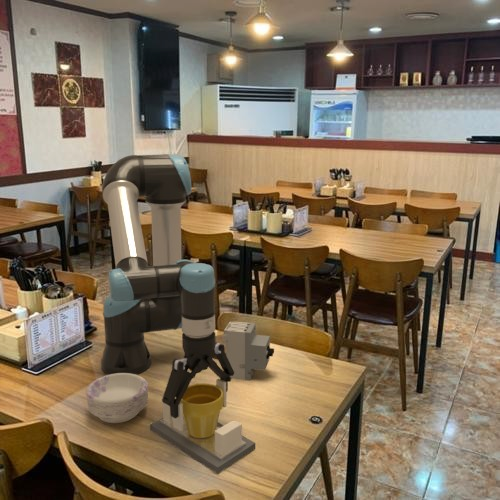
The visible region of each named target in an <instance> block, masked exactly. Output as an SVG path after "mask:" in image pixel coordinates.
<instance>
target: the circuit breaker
mask: <svg viewBox="0 0 500 500" xmlns="http://www.w3.org/2000/svg"><path fill="white" fill-rule="evenodd" d="M223 334H224V335H223V344H226V356H227V358H228V360H229V362H230V364H231V366H232V369H233V371H234V375H233V376H230V377H231V380H232V379H234V380H243V381H251V380H252V378H253V375H254V373H255V371H256V370H262V371H265V370H267V368H268V367H267V366H268V364H269V362H270V360H271V359H270V357H273V355H274V354H275V353H274V352H275V348H271V345H270V344H271V337H270V335H261V334H257V331H256V322H245V321H229V322H228V324H227V325H226V327H225V328H224V330H223Z"/></svg>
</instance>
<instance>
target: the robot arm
mask: <svg viewBox="0 0 500 500" xmlns="http://www.w3.org/2000/svg"><path fill="white" fill-rule="evenodd" d="M190 172H191V171H190V169H189V165H188V162H187V160H186V158H185V157H183V155H180V154H169V153H167V154H140V155H138V154H131V155H126V156H123V157H121V158H120V159H118V160H117V161H116V162H115V163H113V164H112V165H111V166H110V167H109V169H108V170H107V172H106V174H105V176H104V179H103V182H102V185H101V188H102V189H101V191H102V199H103V201H104V202H105V203H106V204H107V209H108V215H109V224H110V232H111V239H112V240H111V241H112V247H113V248H112V249H113V256H114V264H115V268H113V269H111V270H109V272H108V286H109V295H108V296H107V297H105V299H104V300H103V305H102V306H103V307H102V308H103V309H102V310H103V312H102V316H103V323H104V341H105V345H104V349H103V353H102V356H101V359H100V360H101V361H100V367H101V371H102V372H103V373H104V374H106V375H110V374H116V373H130V374H135V375H138V374H141V373H144V371H146V370H148V369H149V368H150V367H151V365H152V358H151V357H152V356H151V353H150V351H149V348H148V347H147V344H146V341H145V333H154V332H163V331H171V330H173V331H174V330H175V331H176V330H178V329H181V332H182V335H181V337H182V339H181V342H182V344H181V345H182V350H183V353H184V356H183V358H181V359H177V358H174V359H173V360H172V364H171V365H172V366H171V372H170V375H169V377H168V381H167V384H166V385H165V386H166V387H165V389H164V393H163V396H162V399H161V402H162V404H163V403H165V404H167V405H168V406H170V415H171V416H172V417H173V427H175V428H176V429H178V430H179V431H182V430H183V404H182V403H180V401H181V399H182V397H183V395H184V393H185V391H186V390H187V388H188V386H190V385H191V382H192V379H195V377H196V375H197V374H199V373H201V372H202V371H206V370H208V369H210V370H211V371H212V372H213V373H214V374H215V375H216V376H217V377H218V378H217V379H216V381H215V383H216V386H218V387H219V388H221V390H222V391H223V408H226V407H227V392H228V390H229V388H228V387H229V385H228V384H229V383H230V382H231V381H232V379H231V377H230V376H233V375H234V371H233V369H232V366H231V364H230V362H229V360H228V358H227V356H226V354H225V349H224V345H222V344H220V343H217V342H216V339H215V336H216V332H215V330H216V306H215V305H216V291H215V290H216V289H215V288H216V286H215V285H216V278H215V269H214V267H213V266H212V265H210V264H206V263H202V262H198V263H197V262H196V263H195V262H194V261H192V260H190V259H182V224H181V223H182V221H181V219H182V218H181V215H182V214H181V213H182V212H181V211H182V210H181V208H182V206H183V205H184V204H185V203H186V201H187V200H186V196H189V195H191V193H192V178H191V173H190ZM140 197H144V198H145V203H146V204H147V205H148V206H149V207H150V208H151V209H150V211H151V214H150V215H151V239H152V240H151V241H152V243H151V244H152V266H151V265H149V264H148V263H149V262H148V257H147V252H146V247H145V246H146V245H145V240H144V236H143V229H142V223H141V219H140V212H139V207H138V199H139V198H140ZM214 354H215V355H216V357H217V359H218V360H217V359H216V360H217V361H218V363H219V365H220V366H219V365H218V363H217V362H216V361H215V360H214V358H213V356H214ZM189 371H190V372H189ZM175 397H176V399H175Z"/></svg>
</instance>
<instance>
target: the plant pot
mask: <svg viewBox="0 0 500 500" xmlns="http://www.w3.org/2000/svg"><path fill="white" fill-rule="evenodd" d="M180 403H182V404H183V415H184V419H185V423H186V426H187V430H188V433H189V434H190V435H191V436H192V437H195V438H207V437H210V436H212V435H213V434H214V433H215V431H216V427H217V422H218V423H219V417H220V412H221V410H222V409H223V408H224V407H223V391H222V390H221V388H219V387H218V386H216V385H215V384H212V383H206V382H205V383H194V384H189V386H188V388H187V390H186V391H185V393H184V395H183V397H182V399H181V401H180Z"/></svg>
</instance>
